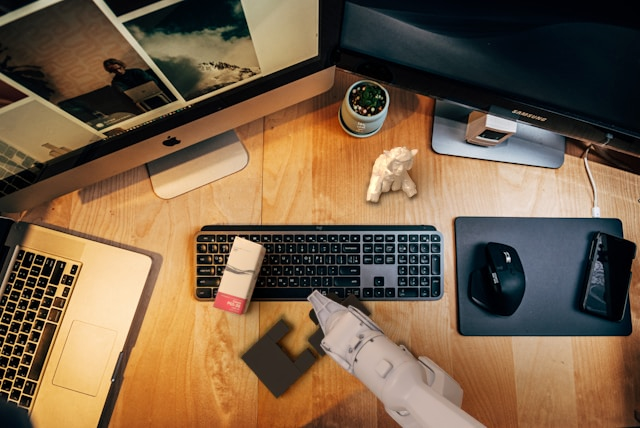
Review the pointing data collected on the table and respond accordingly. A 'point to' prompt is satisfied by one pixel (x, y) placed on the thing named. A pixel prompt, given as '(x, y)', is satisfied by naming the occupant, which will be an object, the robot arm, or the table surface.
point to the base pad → (276, 361)
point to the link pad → (319, 334)
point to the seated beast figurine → (392, 173)
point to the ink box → (239, 276)
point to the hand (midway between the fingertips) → (339, 324)
